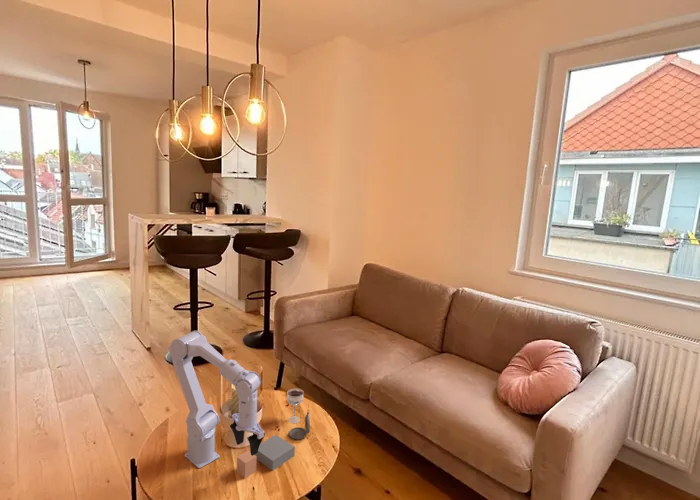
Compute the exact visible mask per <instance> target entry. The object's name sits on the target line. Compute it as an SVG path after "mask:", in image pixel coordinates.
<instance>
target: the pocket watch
mask: <svg viewBox="0 0 700 500" xmlns="http://www.w3.org/2000/svg"><path fill="white" fill-rule="evenodd" d="M309 411H310V409H307V411H306V415H305V417H304V428H303V427H301V426H300V427H293V428H292V429H290V430H289V433H288V435H289V437H290V438H292V439H293V440H302V439H304V438H305V437H306V436H307V434H310V430H311V421H310V415H309V414H310V412H309Z"/></svg>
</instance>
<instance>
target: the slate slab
mask: <svg viewBox="0 0 700 500" xmlns="http://www.w3.org/2000/svg"><path fill="white" fill-rule="evenodd" d="M295 448H296V446H295V445H293V444H292V443H290V442H288V441H286V440H285V439H284V438H282V437H281V436H278V435H277V434H274V435H272V436H271V437H270V438H268V439H266V440H264V441H263V442H262V441H261V443H260V446H259V449H258V452H257V454H255V456H257V461H258V462H260V464H262V465H264V466H265V467H267V468H268V469H269V470H271V471H272V472H273V471H275V470H276V469H278V468H279V467H281V466H283V464H285V463H286V462H288V461H290V460H291V459H292V458H294V457H295V454H296V453H295V452H296V449H295Z"/></svg>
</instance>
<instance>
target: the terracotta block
mask: <svg viewBox="0 0 700 500" xmlns="http://www.w3.org/2000/svg"><path fill="white" fill-rule="evenodd" d="M257 461H258V460H257V456H255V455H253V456H252V455H251V452H250V449H248V450H246V451H245V452H243V453H241V454H240V455H238V456H236V472H237V474H239V475H240V476H242V478H244V479H246V478H249V476H251V475H253V474H254V473H256V472H257V464H258V463H257Z"/></svg>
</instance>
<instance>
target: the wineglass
mask: <svg viewBox="0 0 700 500" xmlns="http://www.w3.org/2000/svg"><path fill="white" fill-rule="evenodd" d="M304 393H305V392H304V390H303V389H301V388H296V387H295V388H290V389H288V390H287V392H286V394H287V395H286V400H287V402H288V403H289V405H291V406H293V416H290V417H289V418H288V419H287V420H288V422H289V423H291V424H298V423H299V422H301V418H300V417H299V416H296V408H297V406H299V405H300V404H301V403H302V402H303V401H304V398H305V397H304Z"/></svg>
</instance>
